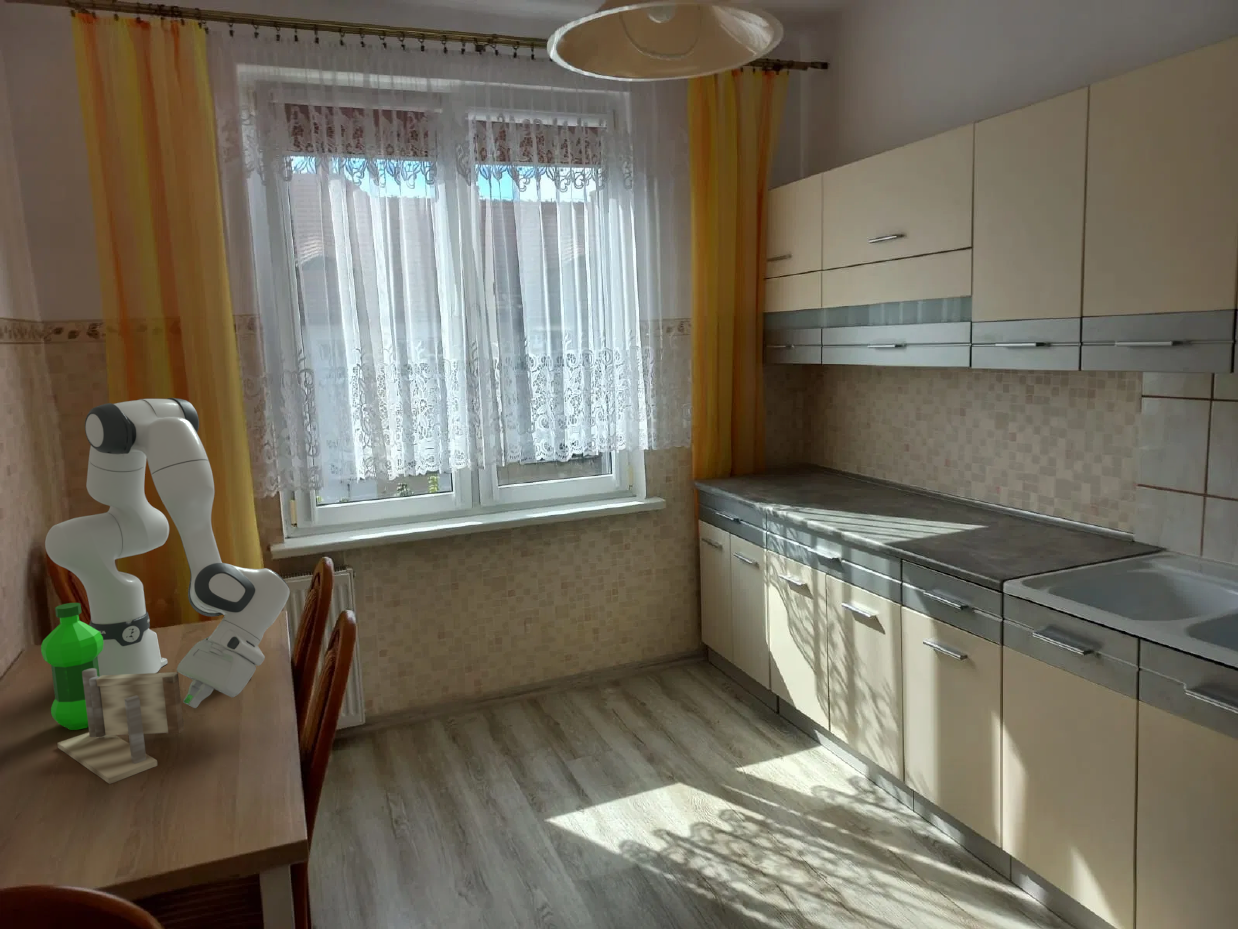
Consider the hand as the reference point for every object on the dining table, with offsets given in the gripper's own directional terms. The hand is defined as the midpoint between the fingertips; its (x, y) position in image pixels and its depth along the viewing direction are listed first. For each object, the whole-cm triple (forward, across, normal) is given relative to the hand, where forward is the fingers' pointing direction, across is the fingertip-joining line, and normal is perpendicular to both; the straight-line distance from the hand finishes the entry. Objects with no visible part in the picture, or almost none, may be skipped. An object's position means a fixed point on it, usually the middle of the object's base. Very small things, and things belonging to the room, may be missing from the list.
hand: (188, 705), depth 166 cm
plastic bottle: (+12, -22, -4) cm, 26 cm away
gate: (+8, -4, -3) cm, 10 cm away
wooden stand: (+14, -2, -6) cm, 16 cm away
